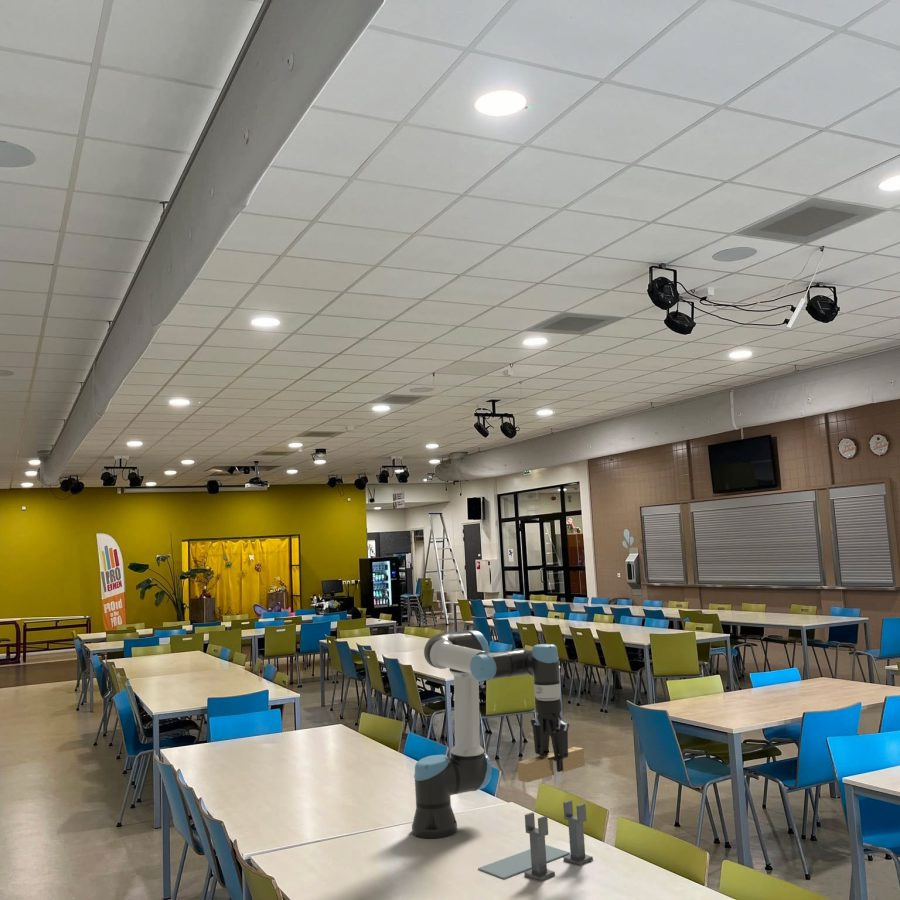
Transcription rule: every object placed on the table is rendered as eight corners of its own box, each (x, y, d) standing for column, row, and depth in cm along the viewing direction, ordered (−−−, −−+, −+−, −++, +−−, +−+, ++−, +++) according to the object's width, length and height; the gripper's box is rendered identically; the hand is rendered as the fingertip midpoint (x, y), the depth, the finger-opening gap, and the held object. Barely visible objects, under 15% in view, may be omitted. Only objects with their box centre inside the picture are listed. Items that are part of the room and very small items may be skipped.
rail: (518, 780, 231) (517, 761, 232) (576, 763, 246) (574, 746, 247) (527, 782, 228) (526, 763, 229) (584, 765, 243) (583, 748, 244)
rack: (524, 876, 229) (520, 816, 231) (577, 855, 242) (573, 798, 245) (539, 881, 224) (535, 820, 226) (592, 860, 238) (588, 802, 240)
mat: (478, 869, 235) (478, 868, 235) (543, 845, 252) (543, 844, 253) (504, 879, 227) (504, 877, 227) (570, 853, 244) (570, 852, 244)
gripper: (519, 697, 244) (523, 779, 241) (559, 703, 231) (565, 789, 228) (536, 694, 249) (541, 774, 246) (577, 699, 236) (583, 783, 233)
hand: (553, 781), depth 237 cm, fingers closed on rail, 3 cm apart
